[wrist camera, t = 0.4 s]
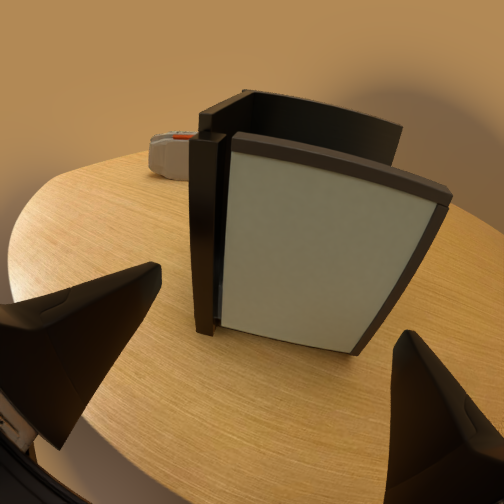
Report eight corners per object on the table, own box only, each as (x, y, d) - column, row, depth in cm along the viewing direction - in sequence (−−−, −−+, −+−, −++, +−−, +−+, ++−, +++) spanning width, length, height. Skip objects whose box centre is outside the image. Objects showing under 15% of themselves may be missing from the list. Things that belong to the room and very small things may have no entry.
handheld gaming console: (231, 177, 48) (235, 133, 43) (230, 184, 46) (233, 139, 41) (151, 172, 47) (149, 130, 42) (146, 179, 45) (143, 135, 40)
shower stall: (352, 366, 23) (462, 187, 11) (189, 330, 24) (177, 119, 13) (350, 267, 33) (401, 124, 22) (230, 240, 35) (243, 89, 23)
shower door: (357, 356, 22) (455, 196, 12) (220, 327, 23) (231, 137, 13) (357, 345, 23) (447, 186, 13) (224, 317, 24) (237, 131, 14)
